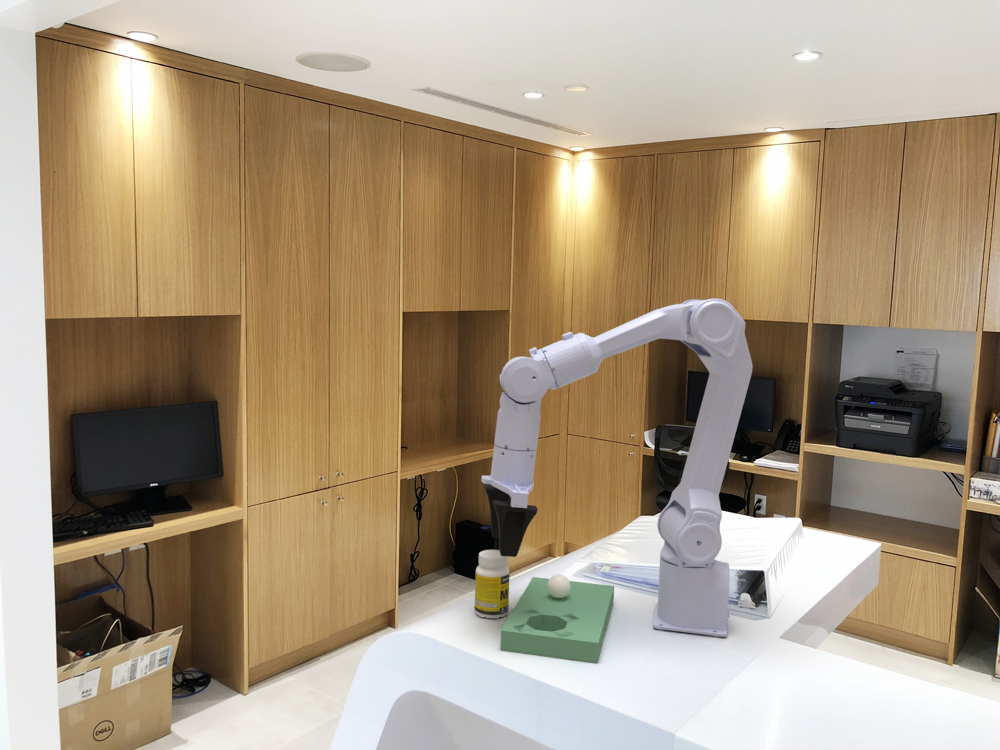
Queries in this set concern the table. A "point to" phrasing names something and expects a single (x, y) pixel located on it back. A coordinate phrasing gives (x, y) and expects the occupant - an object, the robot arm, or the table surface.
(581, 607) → the green
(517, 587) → the table surface
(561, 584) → the ball
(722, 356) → the robot arm
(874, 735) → the table surface
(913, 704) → the table surface
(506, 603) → the supplement bottle
